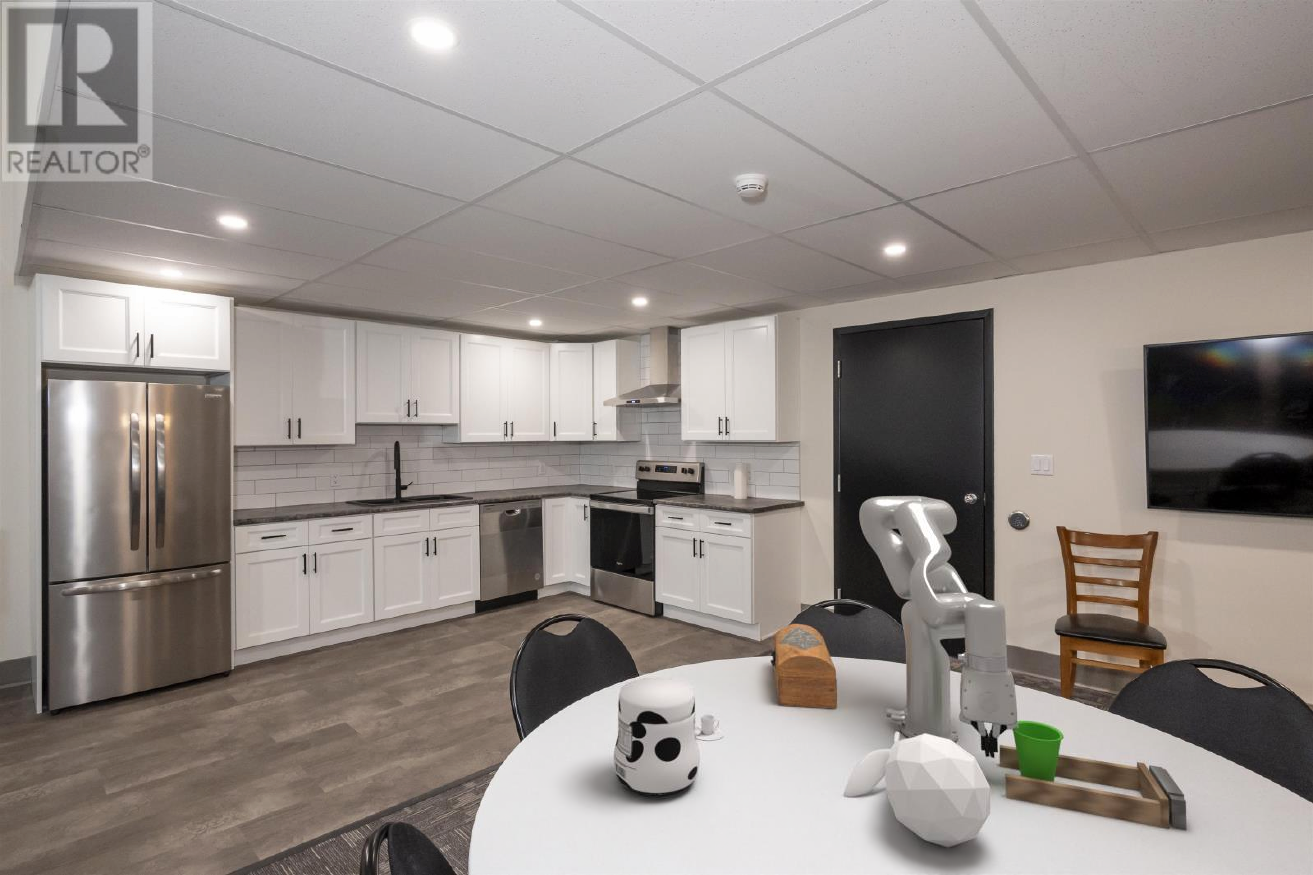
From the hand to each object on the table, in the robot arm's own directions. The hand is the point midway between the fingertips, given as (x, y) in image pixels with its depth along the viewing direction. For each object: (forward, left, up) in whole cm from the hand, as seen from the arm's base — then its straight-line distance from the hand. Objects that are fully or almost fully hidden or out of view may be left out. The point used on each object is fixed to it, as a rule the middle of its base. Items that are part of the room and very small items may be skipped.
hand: (989, 754), depth 130 cm
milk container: (-62, -27, -5) cm, 67 cm away
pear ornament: (-14, -21, -5) cm, 25 cm away
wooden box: (-45, +36, -5) cm, 58 cm away
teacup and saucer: (-62, -1, -6) cm, 62 cm away
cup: (+8, +1, -5) cm, 10 cm away
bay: (+16, +1, -5) cm, 17 cm away
